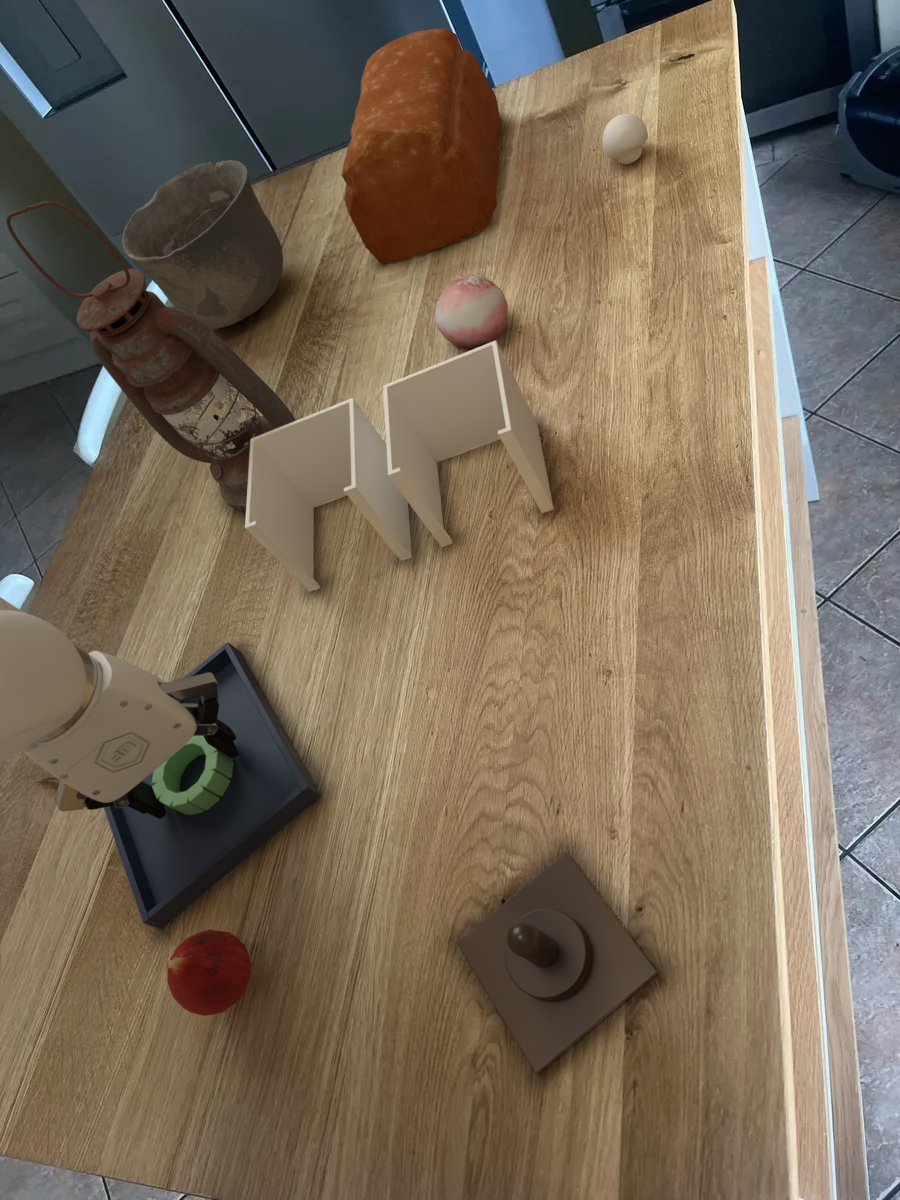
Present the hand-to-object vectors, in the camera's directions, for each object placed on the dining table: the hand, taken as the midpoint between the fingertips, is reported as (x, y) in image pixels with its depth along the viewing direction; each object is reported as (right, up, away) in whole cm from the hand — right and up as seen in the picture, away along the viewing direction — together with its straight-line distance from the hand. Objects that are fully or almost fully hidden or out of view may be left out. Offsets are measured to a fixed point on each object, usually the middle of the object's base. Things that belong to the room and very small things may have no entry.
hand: (194, 774), depth 80 cm
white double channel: (+20, +24, +7) cm, 32 cm away
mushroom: (+43, +65, +22) cm, 81 cm away
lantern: (+2, +30, +20) cm, 36 cm away
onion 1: (+6, -14, -10) cm, 19 cm away
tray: (+1, -1, +1) cm, 1 cm away
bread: (+22, +67, +35) cm, 79 cm away
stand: (+30, -9, -19) cm, 36 cm away
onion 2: (+26, +43, +17) cm, 53 cm away
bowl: (-3, +55, +39) cm, 68 cm away
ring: (0, 0, +1) cm, 1 cm away
